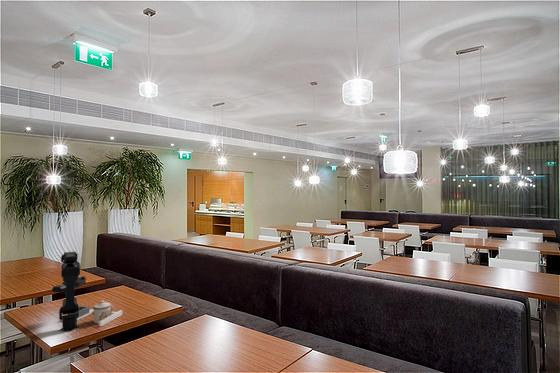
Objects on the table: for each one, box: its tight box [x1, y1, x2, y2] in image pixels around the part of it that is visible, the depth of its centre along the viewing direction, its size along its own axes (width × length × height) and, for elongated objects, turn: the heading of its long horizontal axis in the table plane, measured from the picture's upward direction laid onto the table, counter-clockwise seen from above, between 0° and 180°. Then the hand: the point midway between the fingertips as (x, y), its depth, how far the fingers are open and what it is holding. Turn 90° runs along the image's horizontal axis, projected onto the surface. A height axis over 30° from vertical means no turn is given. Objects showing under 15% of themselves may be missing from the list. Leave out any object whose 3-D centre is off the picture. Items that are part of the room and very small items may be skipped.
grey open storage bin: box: [67, 305, 123, 327], centre depth 198 cm, size 18×26×5 cm
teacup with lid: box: [92, 300, 114, 324], centre depth 197 cm, size 12×9×12 cm
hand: (69, 299), depth 196 cm, fingers closed
